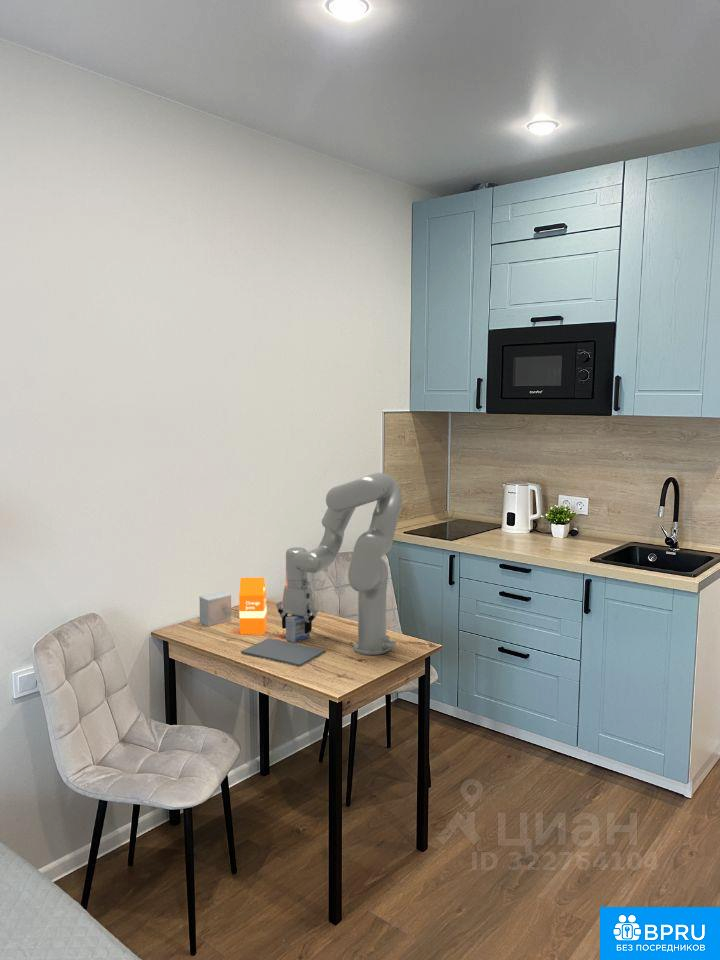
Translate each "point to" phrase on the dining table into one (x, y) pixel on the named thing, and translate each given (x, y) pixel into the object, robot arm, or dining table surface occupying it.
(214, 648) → the dining table surface
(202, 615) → the skincare box
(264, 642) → the mat
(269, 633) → the dining table surface
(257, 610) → the orange juice
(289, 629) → the medicine box
